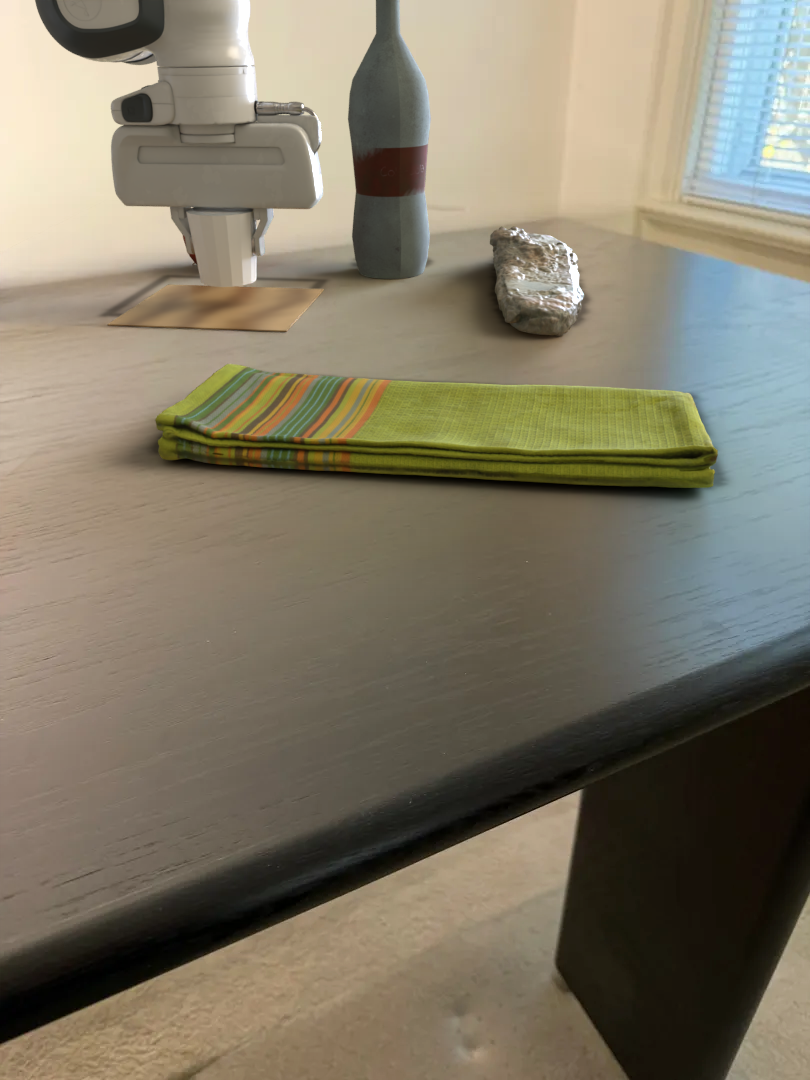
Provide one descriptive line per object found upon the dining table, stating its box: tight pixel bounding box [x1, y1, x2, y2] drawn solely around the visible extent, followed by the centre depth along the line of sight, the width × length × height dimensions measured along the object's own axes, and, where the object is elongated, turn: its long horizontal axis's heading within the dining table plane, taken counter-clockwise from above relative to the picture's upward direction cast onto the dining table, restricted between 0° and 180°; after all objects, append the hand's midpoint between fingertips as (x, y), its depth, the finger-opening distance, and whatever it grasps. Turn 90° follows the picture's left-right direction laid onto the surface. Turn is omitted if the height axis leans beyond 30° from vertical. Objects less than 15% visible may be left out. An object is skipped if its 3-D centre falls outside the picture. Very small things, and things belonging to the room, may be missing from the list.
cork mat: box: [106, 283, 325, 333], centre depth 92 cm, size 18×16×1 cm
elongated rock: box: [489, 226, 585, 337], centre depth 96 cm, size 35×5×10 cm
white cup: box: [186, 207, 258, 287], centre depth 89 cm, size 7×7×7 cm
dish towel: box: [154, 363, 719, 489], centre depth 62 cm, size 15×36×3 cm, turn 81°
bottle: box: [347, 0, 432, 280], centre depth 98 cm, size 9×9×30 cm
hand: (226, 253), depth 89 cm, fingers closed on white cup, 5 cm apart
